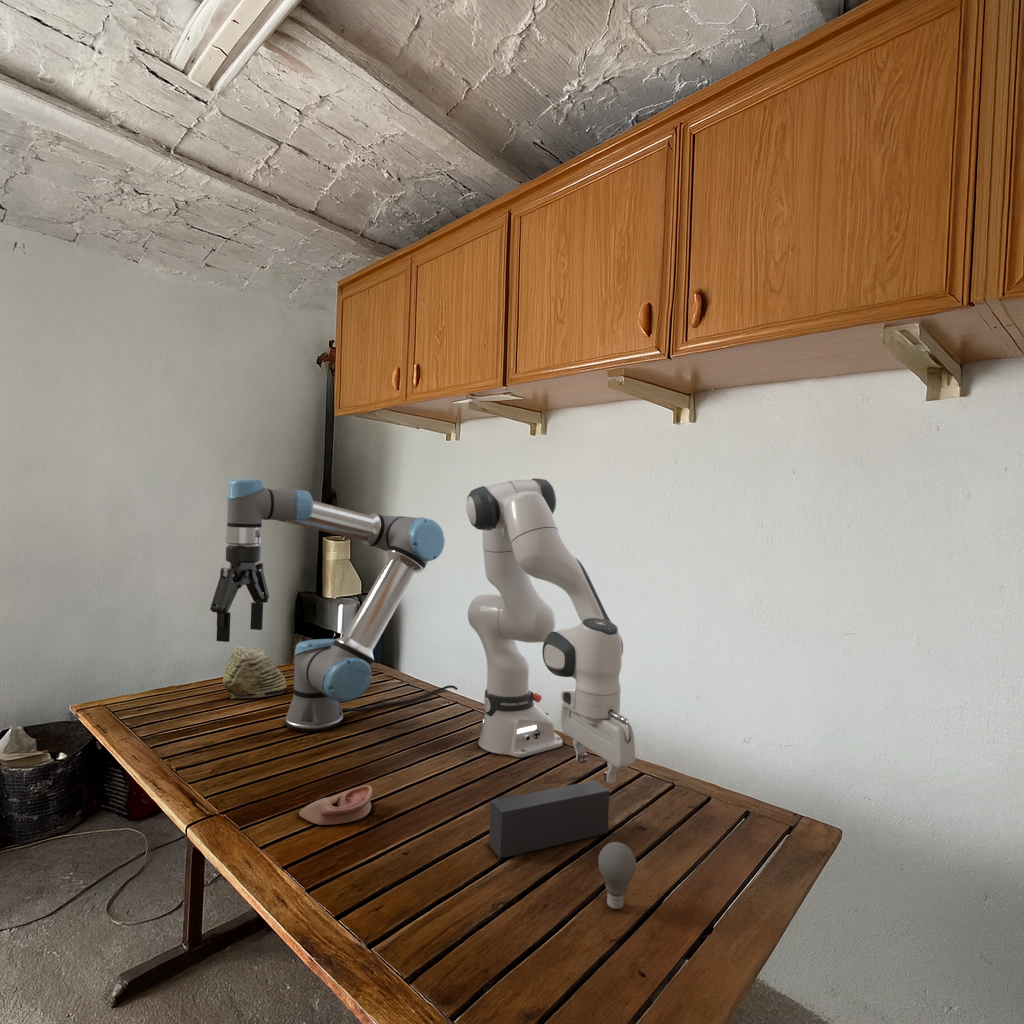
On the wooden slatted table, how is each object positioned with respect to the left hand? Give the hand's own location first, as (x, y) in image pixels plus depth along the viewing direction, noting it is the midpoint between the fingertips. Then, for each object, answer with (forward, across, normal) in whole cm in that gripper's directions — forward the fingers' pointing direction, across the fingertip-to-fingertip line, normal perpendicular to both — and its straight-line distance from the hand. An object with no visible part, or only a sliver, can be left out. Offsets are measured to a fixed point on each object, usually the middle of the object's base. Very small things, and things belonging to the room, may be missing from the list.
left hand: (240, 635), depth 149 cm
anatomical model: (+30, -17, -33) cm, 47 cm away
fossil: (+30, +46, +23) cm, 59 cm away
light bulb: (+30, -35, -88) cm, 100 cm away
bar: (+30, -17, -76) cm, 83 cm away
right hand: (+18, -11, -84) cm, 87 cm away
